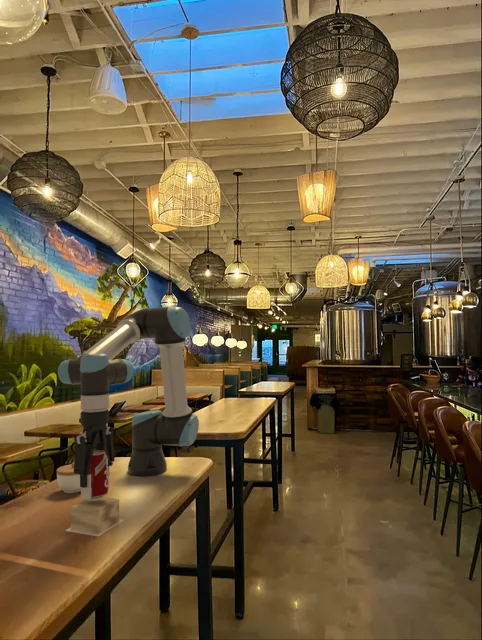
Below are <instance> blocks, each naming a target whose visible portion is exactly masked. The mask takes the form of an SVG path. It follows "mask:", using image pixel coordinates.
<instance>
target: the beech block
mask: <svg viewBox="0 0 482 640" xmlns="http://www.w3.org/2000/svg"><path fill="white" fill-rule="evenodd" d="M69 509H70V510H69V511H70V513H69V514H70V519H69V520H70V527H69V528H70V530H76V531H82V532H88V533H94V534H99V533H101V532H102V531H104V530H105V529H107V528H109V527H110V526H112V525H113V524H115V523H117V522H118V521H119V519H120V499H119V498H114V497H106V496H103V497H101V498H98V499H90V500H87V499H82V501H81V500H80V501H79V502H77V503H75V504H74V505H71V506H70V507H69Z"/></svg>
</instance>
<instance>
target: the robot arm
mask: <svg viewBox="0 0 482 640" xmlns="http://www.w3.org/2000/svg"><path fill="white" fill-rule="evenodd" d="M189 317H190V316H189V314H188V313H187V312H186V310H185V309H184V307H180V306H164V307H162V306H161V307H146V308H141V309H139V310H136V311H134V312H132V313H131V314H129V315H127V316H126V317H124V318H122V319H121V320H120V321H119V322H118V323H117V325H116V327H115V328H114V329H112V330H111V332H109V333H108V334H106V335H105V336H104V337H103V338H101V339H100V340H99V341H98V342H96V343H95V344H94V345H92V346H91V347H90V348H89V349H87V350H86V351H84V352H83V353H82V354H81V355H79V356H78V357H76V358H74V359H65V360H63V361H61V363H60V364H59V365H58V368H57V376H58V380H60V382H61V383H62V384H64V385H72V386H75V385H80V410H82V411H81V412H80V425H81V426H82V427H83V428H82V431H81V434H80V435H75V436H73V437H74V438H73V439H74V444H75V445H74V459H73V460H74V461H73V463H74V474H79V475H80V487H81V491H80V500H85V499H87V500H90V499H91V474H89V469H90V465H91V460H92V455H93V451H94V450H96V449H98V450H100V451H102V450H105V454H106V455H107V457H108V491H109V490H110V489H109V488H110V481H109V479H110V467H112V466H113V465H114V462H115V460H116V459H115V448H114V447H115V446H114V443H115V442H114V433H115V432H114V431H115V428H114V427H112V426H111V427H110V426H107V424H108V423H109V422H110V411H109V408H110V392H109V391H110V388H109V387H110V386H115V385H122V384H126V383H128V382H129V381H131V379H132V377H133V375H134V368H133V365H132V363H131V361H129V360H128V359H123V358H116V356H118V355H119V354H121V352H122V351H124V350H125V349H126V348H127V347H128V346H129V345H130V344H134V343H136V342H138V341H139V340H142V339H154V344H155V345H156V347H158V348H159V355H160V365H161V376H162V385H163V397H164V404H165V405H164V410H163V411H162V410H159V409H156V410H154V409H153V410H148V411H143V412H140V413H135V414H134V415H133V416H132V420H131V445H132V446H131V449H132V450H131V455H130V458H129V461H128V465H127V474H130V475H131V476H136V477H137V476H138V477H140V476H141V477H147V476H148V477H149V476H154V475H159V474H162V473H164V472H166V471H167V469H168V468H167V467H168V465H167V461H166V457H165V454H164V452H163V446H176V447H189V446H192V445H193V444H194V442H195V441H196V439H197V436H198V433H199V428H200V426H199V424H200V423H199V422H200V421H199V418H198V416H197V415H195V414H193V409H192V408H191V407H190V406H189V405H188V396H187V385H186V384H187V383H186V373H185V372H186V370H185V362H184V359H185V358H184V350H183V349H184V348H183V346H184V344H185V343H186V342H187V339H186V338H188V337H189V336H190V334H191V320H190V318H189ZM114 358H116V359H114ZM84 469H85V470H84Z"/></svg>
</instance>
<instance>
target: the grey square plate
mask: <svg viewBox="0 0 482 640" xmlns="http://www.w3.org/2000/svg"><path fill="white" fill-rule="evenodd" d="M123 521H125V519H121V518H119V521H118V522H117V523H115V524H113V525H112V526H110V527H109V528H107V529H105V530H104V531H102V532H101V533H99V534H94V533H88V532H82V531H76V530H70V527H69V528H67V529H65V530H64V531H65V532H70V533H76V534H80V535H81V534H82V535H87V536H93V537H100V536H102V535H103V534H105V533H107V532H108V531H110V530H111V529H113V528H115V527H116V526H118V525H119V524H120V523H122V522H123Z"/></svg>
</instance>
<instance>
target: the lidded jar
mask: <svg viewBox="0 0 482 640" xmlns="http://www.w3.org/2000/svg"><path fill="white" fill-rule="evenodd" d="M56 478H57V479H56V480H57V484H58V487H59V488H60V489H61V490H62V491H63V493H65V494H77V493H79V492H80V493H81V487H80V475H79V474H74V462H72V463H70V464H67V465H66V464H65V465H62V466H60V467H58V468H57V469H56Z"/></svg>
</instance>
